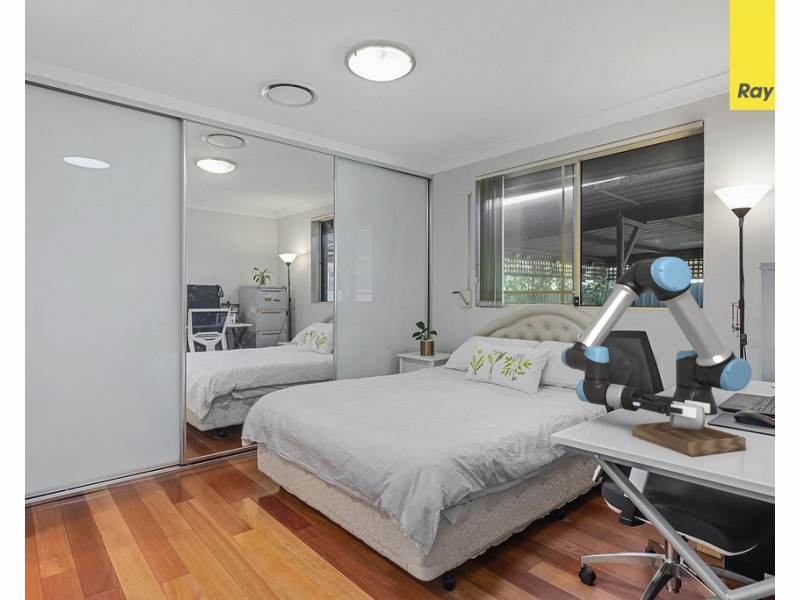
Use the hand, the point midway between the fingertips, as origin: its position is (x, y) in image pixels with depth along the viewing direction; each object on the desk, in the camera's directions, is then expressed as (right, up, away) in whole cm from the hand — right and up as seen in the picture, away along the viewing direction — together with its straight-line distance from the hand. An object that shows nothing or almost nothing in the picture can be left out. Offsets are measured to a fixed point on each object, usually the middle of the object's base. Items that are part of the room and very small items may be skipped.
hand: (703, 410), depth 133 cm
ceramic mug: (-2, -6, +5) cm, 8 cm away
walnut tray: (-3, -10, +3) cm, 11 cm away
